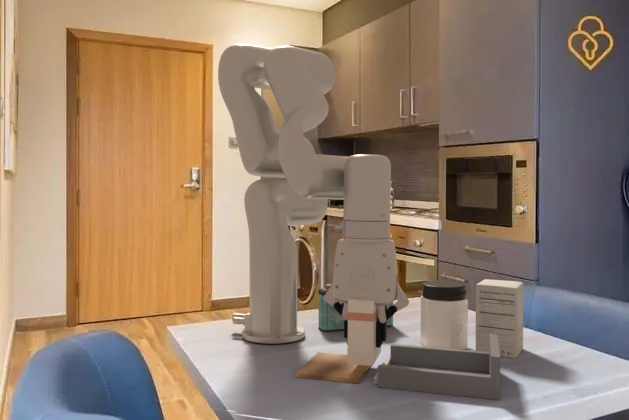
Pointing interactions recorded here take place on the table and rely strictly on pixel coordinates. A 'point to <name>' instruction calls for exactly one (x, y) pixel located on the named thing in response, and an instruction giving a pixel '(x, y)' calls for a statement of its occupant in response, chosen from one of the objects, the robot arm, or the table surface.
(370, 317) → the taped cardboard box
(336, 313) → the camera
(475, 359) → the frame
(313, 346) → the table surface
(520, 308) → the supplement box
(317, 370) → the cork mat
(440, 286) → the jar
